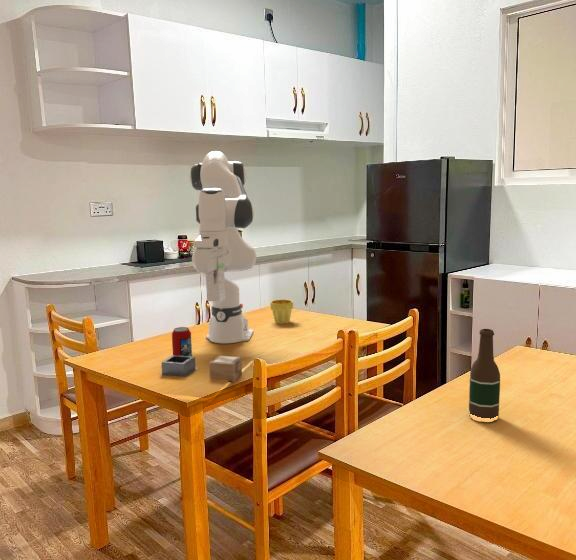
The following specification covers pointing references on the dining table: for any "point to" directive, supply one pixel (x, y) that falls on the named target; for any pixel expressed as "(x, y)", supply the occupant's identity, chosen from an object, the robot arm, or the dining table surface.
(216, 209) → the robot arm
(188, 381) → the dining table surface
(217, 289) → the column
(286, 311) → the plant pot
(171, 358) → the grey square bin
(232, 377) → the pedestal
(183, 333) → the beverage can
